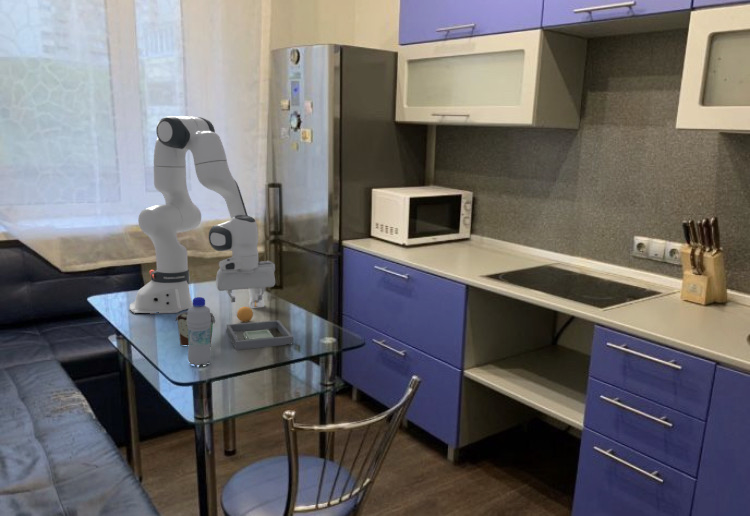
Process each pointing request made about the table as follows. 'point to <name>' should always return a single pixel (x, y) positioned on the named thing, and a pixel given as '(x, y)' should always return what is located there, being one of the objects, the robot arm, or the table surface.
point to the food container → (183, 327)
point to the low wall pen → (258, 343)
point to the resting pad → (257, 334)
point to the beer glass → (255, 298)
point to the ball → (244, 314)
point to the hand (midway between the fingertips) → (246, 300)
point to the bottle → (199, 332)
